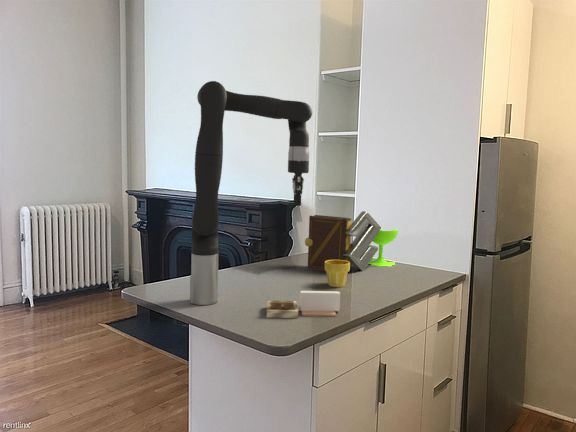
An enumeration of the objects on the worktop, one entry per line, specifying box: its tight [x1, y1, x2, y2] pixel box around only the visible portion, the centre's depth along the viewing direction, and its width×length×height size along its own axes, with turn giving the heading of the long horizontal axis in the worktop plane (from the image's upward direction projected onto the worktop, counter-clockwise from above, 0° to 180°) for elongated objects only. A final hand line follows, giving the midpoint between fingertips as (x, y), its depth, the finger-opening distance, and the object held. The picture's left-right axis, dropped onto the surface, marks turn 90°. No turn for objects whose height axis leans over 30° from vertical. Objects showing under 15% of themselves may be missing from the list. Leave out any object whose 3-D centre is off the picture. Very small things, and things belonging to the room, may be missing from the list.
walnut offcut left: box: [270, 300, 282, 310], centre depth 159 cm, size 3×2×4 cm
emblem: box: [343, 210, 382, 272], centre depth 228 cm, size 28×5×28 cm, turn 141°
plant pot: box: [325, 260, 351, 288], centre depth 200 cm, size 10×10×10 cm
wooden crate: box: [304, 214, 352, 273], centre depth 228 cm, size 22×8×25 cm, turn 58°
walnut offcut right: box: [283, 300, 294, 310], centre depth 159 cm, size 3×2×4 cm
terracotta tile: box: [300, 310, 337, 317], centre depth 164 cm, size 11×10×1 cm
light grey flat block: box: [299, 290, 341, 312], centre depth 164 cm, size 6×2×13 cm
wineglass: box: [369, 228, 399, 267], centre depth 245 cm, size 16×16×18 cm
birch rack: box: [266, 300, 299, 319], centre depth 161 cm, size 10×11×2 cm
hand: (297, 204), depth 178 cm, fingers open, 8 cm apart
